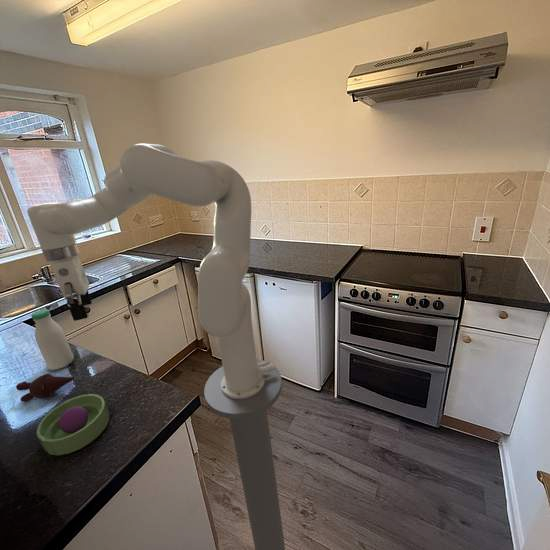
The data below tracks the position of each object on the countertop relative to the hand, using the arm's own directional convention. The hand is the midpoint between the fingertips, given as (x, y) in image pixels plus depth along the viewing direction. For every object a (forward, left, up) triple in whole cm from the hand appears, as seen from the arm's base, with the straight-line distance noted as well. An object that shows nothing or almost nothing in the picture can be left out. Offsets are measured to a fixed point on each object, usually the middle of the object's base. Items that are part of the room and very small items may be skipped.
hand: (83, 311), depth 83 cm
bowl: (+6, +17, -24) cm, 30 cm away
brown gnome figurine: (+16, -3, -24) cm, 29 cm away
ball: (+6, +17, -21) cm, 27 cm away
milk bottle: (+16, -20, -24) cm, 35 cm away
